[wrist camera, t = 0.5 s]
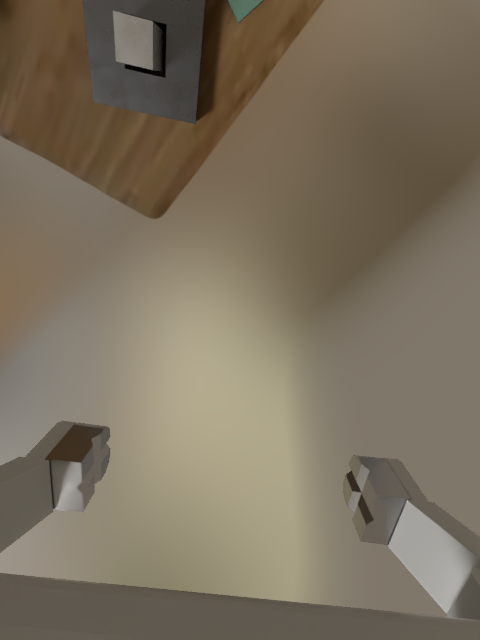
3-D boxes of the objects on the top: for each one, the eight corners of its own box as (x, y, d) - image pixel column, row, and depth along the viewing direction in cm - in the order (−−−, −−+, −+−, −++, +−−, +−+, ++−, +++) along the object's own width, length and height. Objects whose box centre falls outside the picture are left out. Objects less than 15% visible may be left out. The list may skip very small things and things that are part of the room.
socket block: (99, 100, 42) (93, 102, 40) (86, -48, 34) (76, -57, 32) (196, 121, 45) (195, 123, 43) (206, -12, 36) (206, -18, 34)
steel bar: (134, 64, 40) (115, 61, 33) (133, 24, 38) (112, 10, 30) (163, 71, 41) (152, 70, 33) (164, 32, 39) (152, 21, 31)
